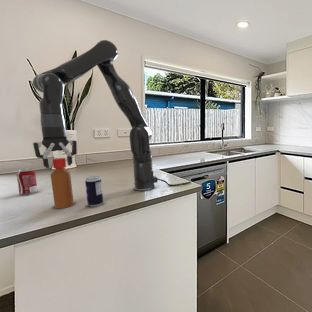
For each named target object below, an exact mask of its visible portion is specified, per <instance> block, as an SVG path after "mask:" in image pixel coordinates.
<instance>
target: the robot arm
mask: <svg viewBox="0 0 312 312" xmlns="http://www.w3.org/2000/svg"><path fill="white" fill-rule="evenodd" d="M118 54H119V51H118V48H117V46H116V45H115V44H114V43H113V42H112V41H111V40H107V39H102V40H99V41H98V42H97V43H95V45H94V46H92V48H90V49H88V50H86V52H83V53H82V54H79V55H78V56H76V57H74V58H72V59H70V60H67V61H65V62H63V63H61V64H60V65H58V66H56V67H54V68H52V69H49V70H46V71H44V72H41V73H38V74H36V75H35V76H34V77H33V79H32V86H33V87H34V89H35V90H36V91H38V92H40V93H42V98H41V99H40V100H39V102H38V105H39V113H40V118H39V119H40V127H41V134H42V140H41V141H37V142H35V141H34V142H32V146H33V150H34V154H35V157H36V158H37V159H42V164H43V167H44V168H46V169H49V168H50V164H49V163H50V162H49V158H48V157H49V155H50V154H51V152H56V151H57V152H62V151H63V153H64V154H66V162H67V163H66V164H67V166H72V164H73V156H75V155H77V154H78V148H77V147H78V144H77V140H74V139H73V140H69V139H68V136H67V129H66V121H65V117H64V110H63V101H64V94H65V93H64V92H65V86H64V85H65V84H71V83H73V82H74V81H76V80H78V79H80V78H82V77H83V76H84V75H86V74H87V73H89V72H90V71H91V70H92V69H94V68H95V67H96V66H97V68H98V69H99V71H100V72H101V75H102V77H103V79H104V80H105V82H106V84H107V86H108V88H109V91H110V93H111V96H112V97H113V100H114V102H115V104H116V106H117V108H119V109H120V111H121V112H122V114H123V115H124V116H125V117H126V119H127V121H128V123H129V125H130V127H131V129H130V131H129V146H130V152H131V154H132V165H133V166H132V167H133V181H134V182H133V185H134V190H135V191H138V192H139V191H140V192H142V191H143V192H145V191H149V190H153V189H155V183H158V182H159V181H161V182H163V183H165V184H166V185H167V186H169V187H177V186H182V185H188V184H191V183H192V181H186V182H181V183H175V184H171V183H169V182H168V181H166V180H165V179H161V178H158V176H157V175H154V170H153V153H152V150H151V146H150V141H151V139H152V131H151V129H150V127H149V126H148V123H147V121H146V120H145V118H144V116H143V115H142V112H141V109H140V107H139V104H138V102H137V99H136V97H135V95H134V93H133V90H132V88H131V86H130V84H128V83H127V82H126V81H125V79H123V78H122V77H121V76H120V75H119V74H118V72H117V70H116V68H115V66H114V63H113V62H114V61H115V60H116V59H117V58H118V56H119V55H118ZM68 144H69V145H70V146H71V152H70V151H69V149H68V148H67V146H68ZM42 146H43V147H45V150H44V152H43V154H41V152H40V148H41V147H42Z"/></svg>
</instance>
